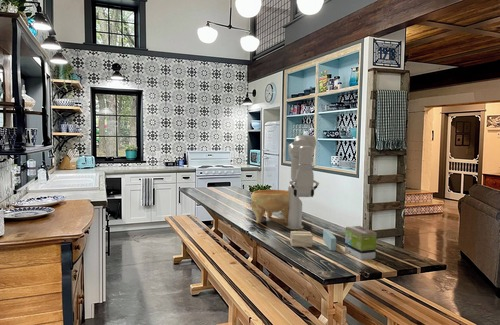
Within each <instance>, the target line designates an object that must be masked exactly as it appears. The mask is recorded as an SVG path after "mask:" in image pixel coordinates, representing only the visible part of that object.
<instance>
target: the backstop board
mask: <svg viewBox="0 0 500 325" xmlns="http://www.w3.org/2000/svg"><path fill="white" fill-rule="evenodd" d="M322 234H323V235H322V241H323V242H324V244H325V245H326V247H328V249H329V250H330V251H337V238H336V236H335V235H334V233H332V232H331V231H330V230H329V229H323V233H322Z"/></svg>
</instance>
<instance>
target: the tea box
mask: <svg viewBox="0 0 500 325" xmlns="http://www.w3.org/2000/svg"><path fill="white" fill-rule="evenodd" d="M377 235H378V234H377V232H376V231H373V230H371V229H369V228H366V227H363V226H361V225H356V226H355V225H353V226H345V236H344V238H345V241H344V252H345V253H348V254H350V255H351V256H353V257H355V258H356V259H358V260H360V261H362V260H363V261H364V259H365V260H371V259H376V251H377V250H376V249H377V237H378V236H377Z"/></svg>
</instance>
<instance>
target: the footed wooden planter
mask: <svg viewBox="0 0 500 325" xmlns="http://www.w3.org/2000/svg"><path fill="white" fill-rule="evenodd" d="M250 200H251V204H250V208H251V209H252V213H254V216H255V218H256V220H255V221H256V223H257V224H261V222H262V221H263V220H262V219H263V217H264V215H265V214H266V217H267V218H271V217H272V216H273V213H278V212H280V213H281V215H282V217H283V220H284V223H286V224H288V213H289V192H288V190H286V189H283V190H282V189H261V190H259V189H258V190H255V191H254V190H253V191H252V193H251V194H250Z"/></svg>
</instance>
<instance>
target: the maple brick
mask: <svg viewBox="0 0 500 325" xmlns="http://www.w3.org/2000/svg"><path fill="white" fill-rule="evenodd" d="M289 243H290V245H291V247H304V248H305V247H307V248H308V247H310V248H311V247H313V234H312V233H311V231H294V230H291V231H290V238H289Z"/></svg>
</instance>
